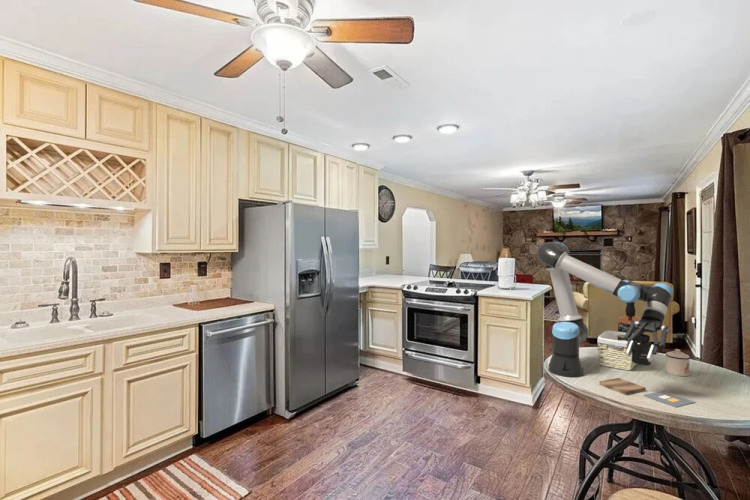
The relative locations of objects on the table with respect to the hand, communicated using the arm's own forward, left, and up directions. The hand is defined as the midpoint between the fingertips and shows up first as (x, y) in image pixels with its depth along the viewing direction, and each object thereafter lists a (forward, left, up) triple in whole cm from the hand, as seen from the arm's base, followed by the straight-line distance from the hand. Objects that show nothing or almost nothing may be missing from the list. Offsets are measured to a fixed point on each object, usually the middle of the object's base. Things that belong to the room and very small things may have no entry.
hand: (638, 357), depth 154 cm
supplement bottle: (-1, +3, -3) cm, 5 cm away
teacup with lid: (-10, +44, -16) cm, 48 cm away
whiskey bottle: (-39, +53, -16) cm, 68 cm away
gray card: (+8, +7, -16) cm, 19 cm away
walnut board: (-7, +1, -16) cm, 17 cm away
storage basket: (-30, +31, -16) cm, 46 cm away
